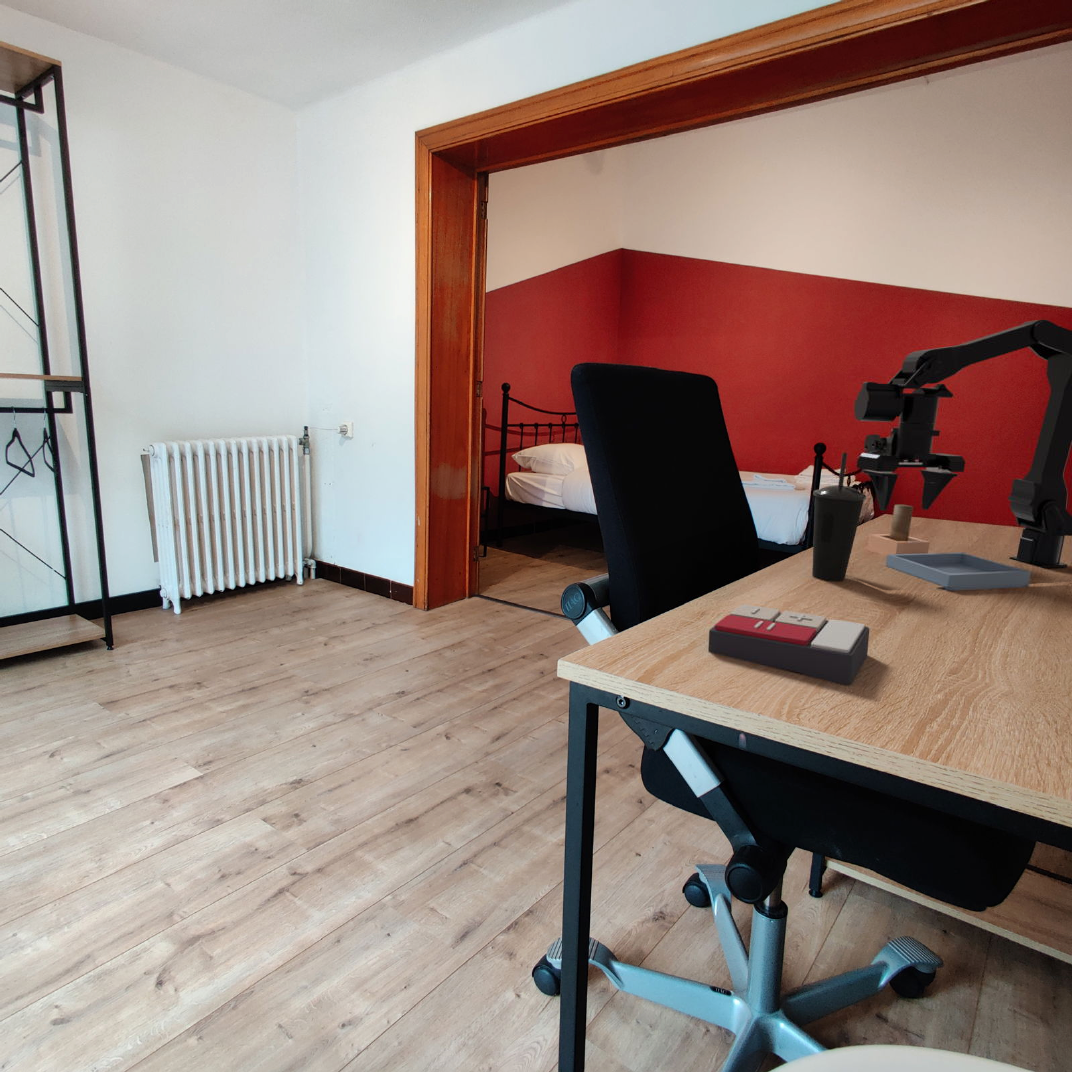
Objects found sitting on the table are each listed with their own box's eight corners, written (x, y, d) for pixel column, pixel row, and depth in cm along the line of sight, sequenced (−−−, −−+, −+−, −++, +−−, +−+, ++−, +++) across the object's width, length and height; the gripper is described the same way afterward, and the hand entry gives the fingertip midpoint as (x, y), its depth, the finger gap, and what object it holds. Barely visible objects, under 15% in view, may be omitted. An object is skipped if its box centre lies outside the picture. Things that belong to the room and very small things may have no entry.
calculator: (739, 600, 87) (871, 620, 79) (737, 633, 88) (867, 656, 80) (708, 623, 78) (853, 648, 70) (706, 660, 79) (849, 688, 71)
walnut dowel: (897, 551, 131) (904, 504, 129) (909, 555, 128) (917, 507, 126) (883, 552, 130) (890, 504, 128) (895, 556, 127) (903, 507, 125)
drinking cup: (862, 584, 109) (881, 456, 105) (813, 582, 109) (829, 454, 105) (842, 571, 117) (859, 451, 112) (796, 570, 117) (811, 449, 112)
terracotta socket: (897, 551, 134) (900, 533, 133) (926, 560, 127) (929, 542, 126) (866, 552, 132) (869, 534, 131) (894, 561, 125) (897, 542, 124)
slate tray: (960, 565, 124) (962, 552, 124) (1028, 586, 112) (1031, 571, 111) (885, 568, 120) (887, 554, 119) (946, 590, 108) (949, 575, 107)
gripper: (924, 421, 134) (912, 501, 137) (841, 419, 129) (830, 503, 133) (973, 425, 124) (959, 512, 127) (885, 423, 119) (873, 513, 122)
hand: (903, 509), depth 127 cm, fingers open, 9 cm apart
